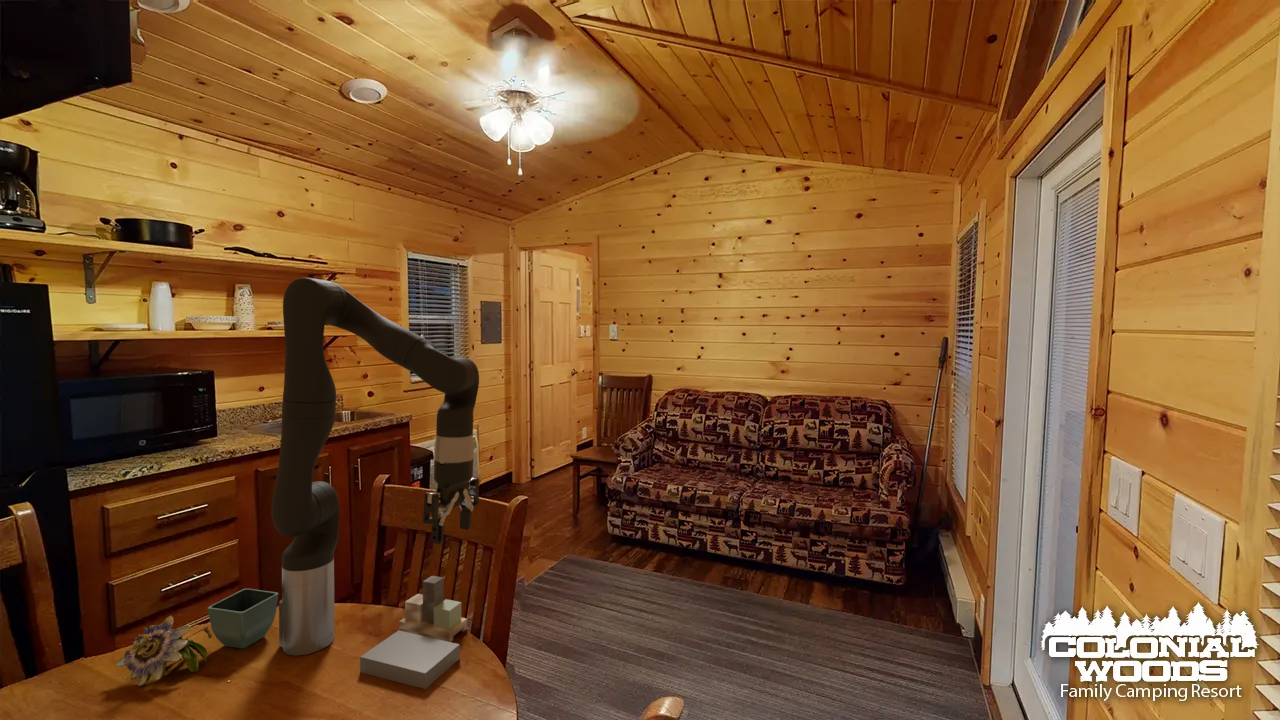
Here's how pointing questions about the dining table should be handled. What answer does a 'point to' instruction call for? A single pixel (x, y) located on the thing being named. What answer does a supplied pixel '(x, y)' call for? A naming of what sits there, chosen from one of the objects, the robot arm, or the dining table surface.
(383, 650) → the dock
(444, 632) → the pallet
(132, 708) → the dining table surface
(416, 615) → the cream block
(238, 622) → the flower pot
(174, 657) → the passion flower
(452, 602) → the green block
